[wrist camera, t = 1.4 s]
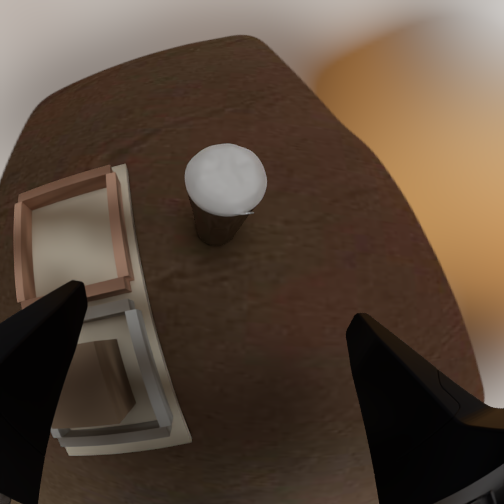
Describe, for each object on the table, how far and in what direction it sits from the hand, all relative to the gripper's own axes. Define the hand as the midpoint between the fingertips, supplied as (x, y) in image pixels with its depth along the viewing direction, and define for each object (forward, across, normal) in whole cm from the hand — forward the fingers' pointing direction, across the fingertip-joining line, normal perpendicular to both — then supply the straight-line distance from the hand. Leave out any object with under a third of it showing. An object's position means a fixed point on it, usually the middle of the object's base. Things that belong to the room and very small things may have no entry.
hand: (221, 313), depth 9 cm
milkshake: (+14, 0, +4) cm, 15 cm away
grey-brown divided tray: (+9, +10, +10) cm, 16 cm away
